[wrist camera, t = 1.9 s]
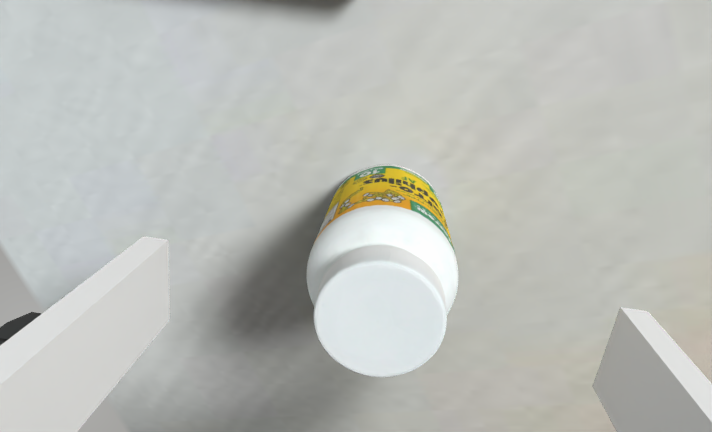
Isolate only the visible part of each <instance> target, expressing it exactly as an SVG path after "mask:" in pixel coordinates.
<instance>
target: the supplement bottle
mask: <svg viewBox="0 0 712 432" xmlns="http://www.w3.org/2000/svg"><path fill="white" fill-rule="evenodd" d="M307 286H308V291H309V295H310V298H311V301H312V303H313V305H314V326H315V331H316V334H317V336H318V339H319V341H320V343H321V344H322V346H323V348H324V349H325V350H326V352H327V353H328V354H329V355H330V356H331V357H332V358H333V359H334V360H336V361H337V362H338V363H339V364H341V365H342V366H344V367H346V368H347V369H349V370H351V371H354V372H356V373H359V374H362V375H367V376H373V377H391V376H397V375H401V374H405V373H408V372H410V371H412V370H415V369H416V368H418V367H420V366H421V365H423V364H424V363H425V362H427V361H428V360H429V359H430V358H431V357H432V356H433V355H434V354H435V352H436V351H437V350H438V348H439V346H440V345H441V343H442V340H443V337H444V334H445V331H446V323H447V317H446V316H447V314H448V313H449V311H450V309H451V307H452V305H453V303H454V300H455V297H456V294H457V289H458V266H457V260H456V255H455V251H454V248H453V245H452V241H451V238H450V234H449V230H448V227H447V224H446V220H445V216H444V213H443V209H442V206H441V203H440V201H439V198H438V196H437V194H436V192H435V190H434V189H433V187H432V186H431V184H430V183H429V182H428V181H427V180H426V179H425V178H424V177H422V176H421V175H419V174H418V173H416V172H415V171H413V170H411V169H408V168H406V167H402V166H399V165H392V164H383V165H377V166H372V167H368V168H365V169H362V170H360V171H357V172H355V173H354V174H352V175H351V176H349V177H348V178H347V179H346V180H345V181H344V182H343V183H342V184H341V185H340V186H339V188H338V189H337V191H336V193H335V195H334V197H333V199H332V201H331V204H330V206H329V208H328V211H327V213H326V216H325V218H324V221H323V223H322V226H321V228H320V230H319V233H318V235H317V237H316V239H315V242H314V245H313V247H312V250H311V252H310V256H309V259H308V264H307Z"/></svg>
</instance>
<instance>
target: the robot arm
mask: <svg viewBox="0 0 712 432" xmlns="http://www.w3.org/2000/svg"><path fill="white" fill-rule="evenodd" d="M169 321H170V293H169V240H166V239H159V238H152V237H146V236H143V237H142V238H140V239H139V240H138V241H136V242H135V243H134V244H133V245H131V246H130V247H129V248H127V249H126V250H125V251H123V252H122V253H121V254H119V255H118V256H117V257H116V258H114V259H113V260H112V261H110V262H109V263H108V264H106V265H105V266H104V267H102V268H101V269H100V270H99V271H97V272H96V273H95V274H93V275H92V276H91V277H89V278H88V279H87V280H85V281H84V282H83V283H81V284H80V285H79V286H78V287H76V288H75V289H74V290H72V291H71V292H70V293H68V294H67V295H66V296H64V297H63V298H62V299H61V300H59V301H58V302H57V303H55V304H54V305H53V306H51V307H50V308H49V309H47V310H46V311H45V312H44V313H42V314H41V313H34V312H31V313H29V314H26V315H24V316H22V317H19V318H17V319H14V320H12V321H10V322H7V323H6V324H4V325H3V326H2V327H1V328H0V432H78V430H79V429H80V428H81V427H82V426H83V424H84V423H85V422H86V421H87V420H88V418H89V417H90V416H91V415H92V414H93V412H94V411H95V410H96V409H97V407H98V406H99V405H100V404H101V403H102V401H103V400H104V399H105V398H106V397H107V395H108V394H109V393H110V392H111V391H112V389H113V388H114V387H115V386H116V385H117V383H118V382H119V381H120V380H121V379H122V377H123V376H124V375H125V374H126V372H127V371H128V370H129V369H130V368H131V366H132V365H133V364H134V363H135V362H136V360H137V359H138V358H139V357H140V356H141V354H142V353H143V352H144V351H145V350H146V348H147V347H148V346H149V345H150V344H151V342H152V341H153V340H154V339H155V337H156V336H157V335H158V334H159V333H160V331H161V330H162V329H163V328H164V327H165V325H166V324H167V323H168V322H169ZM593 388H594V390H595V392H596V394H597V396H598V397H599V399H600V401H601V403H602V405H603V407H604V409H605V411H606V412H607V414H608V416H609V418H610V420H611V422H612V424H613V425H614V427H615V429H616V431H617V432H712V383H711V382H710V381H709V380H708V379H707V378H706V377H705V375H704V374H703V373H702V372H701V371H700V370H699V369H698V368H697V366H696V365H695V364H694V363H693V362H692V361H691V360H690V358H689V357H688V356H687V355H686V354H685V353H684V352H683V351H682V349H681V348H680V347H679V346H678V345H677V344H676V343H675V341H674V340H673V339H672V338H671V337H670V336H669V335H668V334H667V332H666V331H665V330H664V329H663V328H662V327H661V326H660V324H659V323H658V322H657V321H656V320H655V319H654V318H653V317H652V315H651V314H650V313H649V312H648V311H642V310H636V309H629V308H622V307H620V309H619V312H618V315H617V318H616V321H615V324H614V327H613V329H612V332H611V335H610V338H609V341H608V344H607V346H606V349H605V352H604V355H603V358H602V361H601V363H600V366H599V369H598V372H597V375H596V378H595V380H594V383H593Z"/></svg>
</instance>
